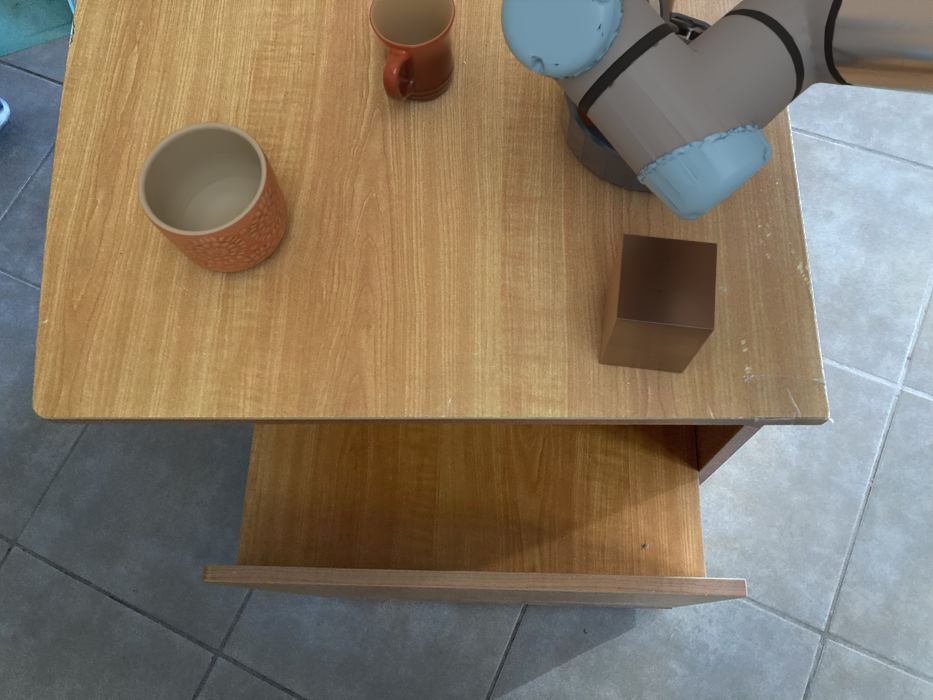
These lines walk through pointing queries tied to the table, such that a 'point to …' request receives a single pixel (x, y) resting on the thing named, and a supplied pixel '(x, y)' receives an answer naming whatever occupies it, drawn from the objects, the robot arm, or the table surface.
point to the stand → (659, 303)
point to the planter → (214, 196)
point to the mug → (415, 46)
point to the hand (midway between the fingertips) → (667, 25)
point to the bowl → (602, 141)
